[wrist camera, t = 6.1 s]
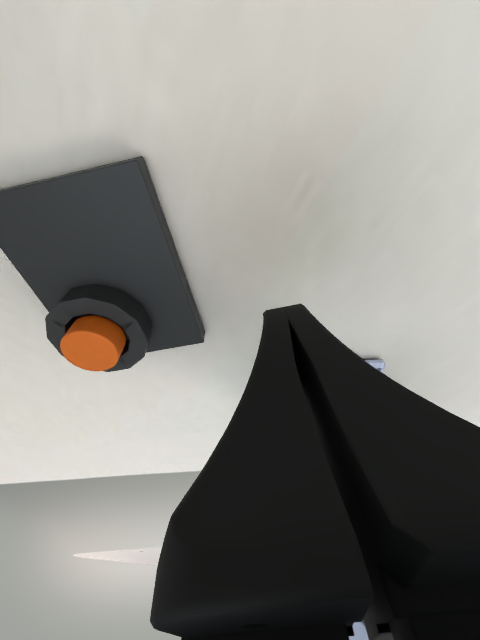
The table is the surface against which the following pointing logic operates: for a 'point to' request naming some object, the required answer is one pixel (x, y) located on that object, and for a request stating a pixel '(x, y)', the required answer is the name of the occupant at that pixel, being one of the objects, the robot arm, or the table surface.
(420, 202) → the table surface
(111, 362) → the round orange button cap
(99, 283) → the orange button switch
